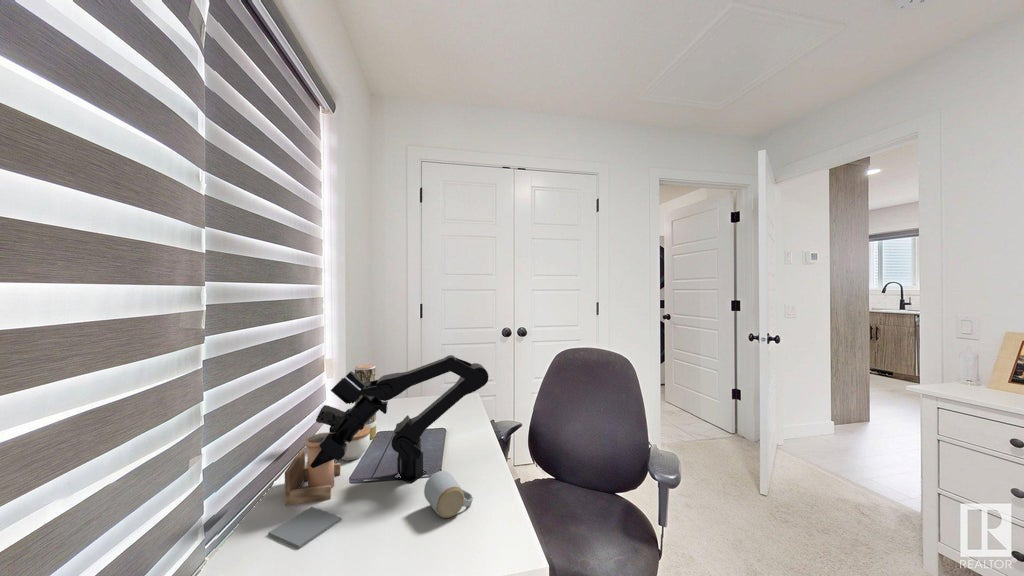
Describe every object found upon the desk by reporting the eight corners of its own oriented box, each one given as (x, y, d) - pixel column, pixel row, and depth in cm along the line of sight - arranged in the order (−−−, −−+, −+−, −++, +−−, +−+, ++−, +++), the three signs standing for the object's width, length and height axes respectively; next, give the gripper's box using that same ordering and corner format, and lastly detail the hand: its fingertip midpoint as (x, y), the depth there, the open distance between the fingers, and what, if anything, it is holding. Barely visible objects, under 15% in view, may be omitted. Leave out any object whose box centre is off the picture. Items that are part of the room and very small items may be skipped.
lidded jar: (361, 464, 109) (361, 432, 109) (326, 464, 109) (325, 432, 109) (375, 448, 119) (375, 419, 119) (343, 448, 120) (343, 419, 120)
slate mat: (341, 520, 82) (341, 517, 82) (299, 548, 73) (299, 545, 73) (311, 509, 86) (311, 506, 86) (268, 535, 77) (268, 532, 77)
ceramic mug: (436, 525, 80) (437, 490, 80) (423, 507, 87) (423, 474, 87) (479, 509, 86) (479, 476, 86) (463, 493, 93) (463, 463, 93)
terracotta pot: (342, 483, 98) (342, 434, 98) (318, 497, 91) (317, 445, 91) (324, 477, 101) (323, 430, 101) (299, 491, 94) (298, 440, 94)
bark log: (371, 441, 125) (370, 368, 125) (351, 441, 125) (351, 368, 125) (379, 433, 131) (378, 364, 131) (360, 433, 131) (359, 364, 131)
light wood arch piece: (340, 473, 103) (340, 445, 103) (330, 498, 91) (330, 466, 91) (301, 478, 101) (300, 449, 101) (285, 505, 88) (284, 472, 88)
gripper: (343, 386, 106) (301, 428, 103) (328, 406, 88) (277, 458, 85) (372, 410, 108) (332, 452, 105) (363, 435, 90) (314, 486, 87)
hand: (315, 460), depth 96 cm, fingers closed on terracotta pot, 6 cm apart
